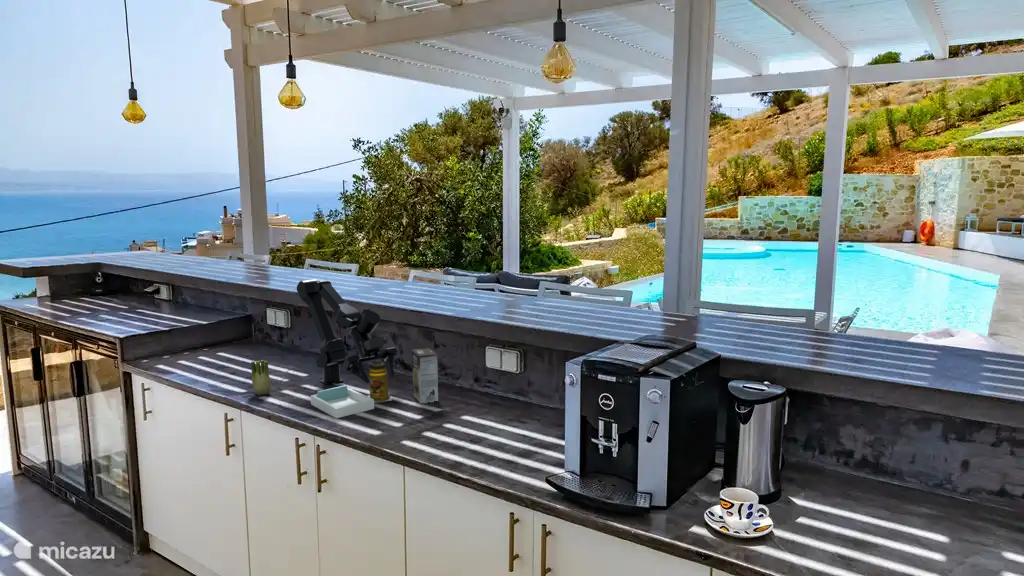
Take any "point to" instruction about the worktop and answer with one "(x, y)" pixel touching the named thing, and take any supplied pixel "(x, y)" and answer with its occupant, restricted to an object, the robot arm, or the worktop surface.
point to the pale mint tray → (344, 404)
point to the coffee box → (425, 375)
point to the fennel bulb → (260, 377)
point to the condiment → (378, 383)
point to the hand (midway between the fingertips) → (380, 380)
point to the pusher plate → (333, 393)
